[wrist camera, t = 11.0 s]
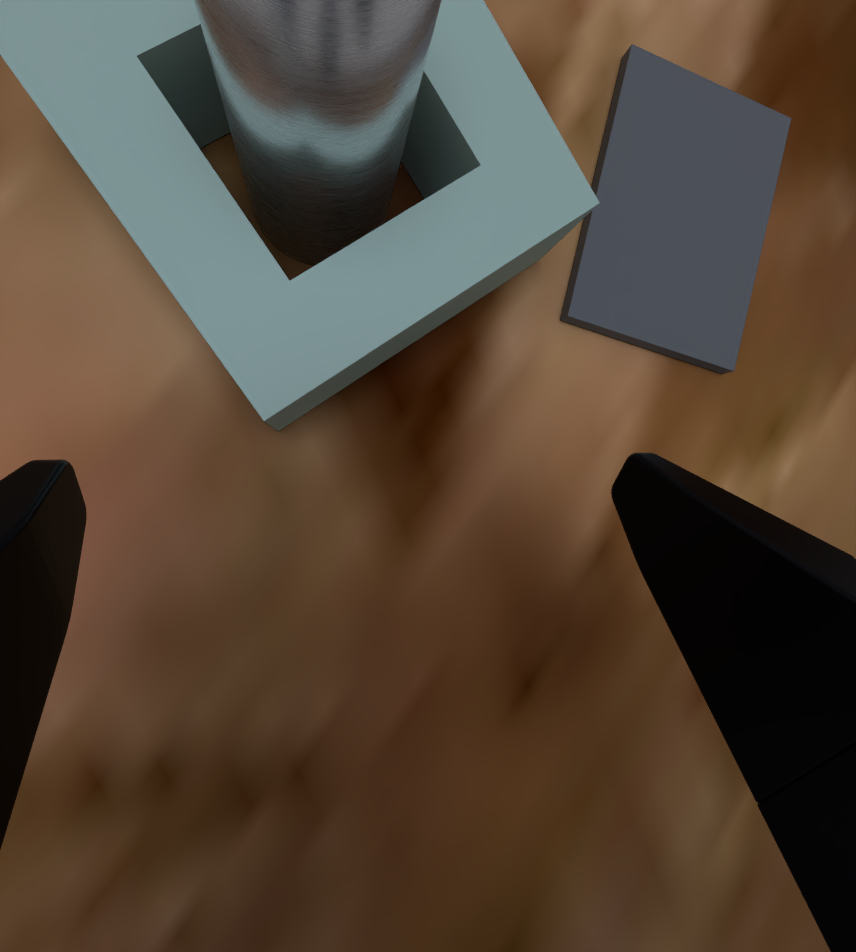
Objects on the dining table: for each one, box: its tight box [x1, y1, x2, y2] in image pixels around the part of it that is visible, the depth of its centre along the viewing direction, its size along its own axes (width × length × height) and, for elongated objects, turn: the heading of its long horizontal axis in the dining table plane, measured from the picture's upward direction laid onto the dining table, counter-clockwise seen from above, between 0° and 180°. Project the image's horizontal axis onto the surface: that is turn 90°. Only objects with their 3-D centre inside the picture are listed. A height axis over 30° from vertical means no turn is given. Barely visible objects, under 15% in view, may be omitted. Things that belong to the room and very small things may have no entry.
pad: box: [560, 44, 791, 374], centre depth 19 cm, size 10×7×1 cm
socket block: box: [0, 0, 600, 431], centre depth 15 cm, size 11×11×4 cm
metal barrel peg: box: [194, 0, 441, 265], centre depth 11 cm, size 4×4×12 cm
